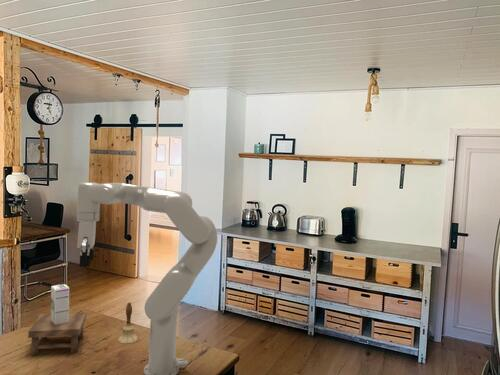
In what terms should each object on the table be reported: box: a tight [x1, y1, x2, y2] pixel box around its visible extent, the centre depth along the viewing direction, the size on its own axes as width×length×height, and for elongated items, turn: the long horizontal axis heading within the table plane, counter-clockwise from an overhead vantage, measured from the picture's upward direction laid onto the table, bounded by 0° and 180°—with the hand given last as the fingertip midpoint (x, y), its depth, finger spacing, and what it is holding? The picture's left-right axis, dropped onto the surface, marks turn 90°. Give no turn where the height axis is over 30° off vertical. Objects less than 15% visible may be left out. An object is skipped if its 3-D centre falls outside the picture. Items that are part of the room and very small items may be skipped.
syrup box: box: [50, 283, 70, 325], centre depth 160 cm, size 6×6×14 cm
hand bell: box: [117, 302, 139, 345], centre depth 169 cm, size 8×8×16 cm
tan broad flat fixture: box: [27, 312, 87, 357], centre depth 161 cm, size 18×18×10 cm
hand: (86, 263), depth 144 cm, fingers open, 9 cm apart
